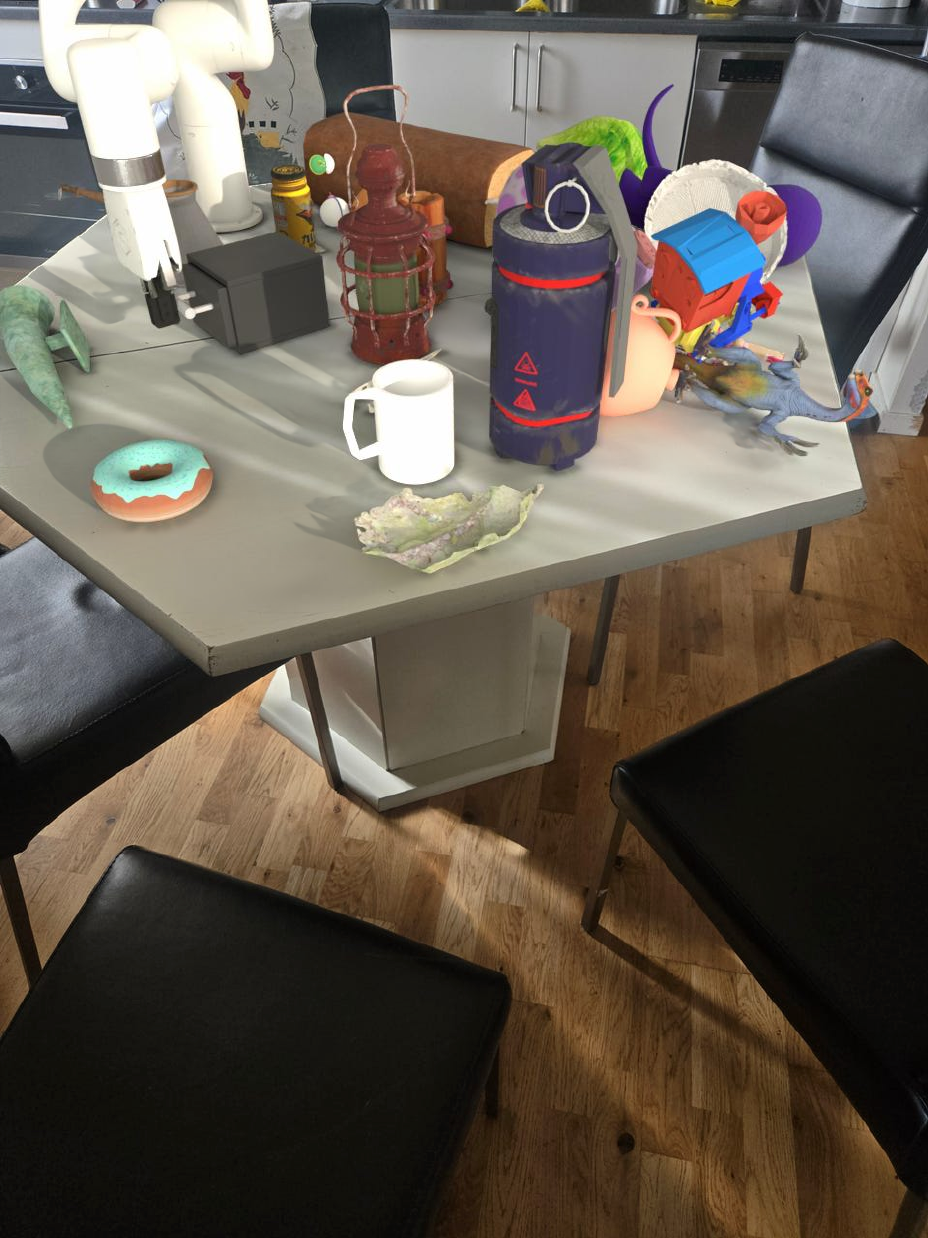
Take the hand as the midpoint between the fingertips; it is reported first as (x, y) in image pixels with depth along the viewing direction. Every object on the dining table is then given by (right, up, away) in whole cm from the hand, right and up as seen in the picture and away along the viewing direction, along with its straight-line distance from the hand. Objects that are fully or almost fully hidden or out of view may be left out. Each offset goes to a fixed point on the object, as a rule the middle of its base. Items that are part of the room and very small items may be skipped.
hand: (166, 323), depth 114 cm
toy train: (+67, -2, -7) cm, 68 cm away
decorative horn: (-11, -18, -14) cm, 25 cm away
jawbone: (+30, -9, -2) cm, 32 cm away
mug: (+29, +8, +15) cm, 34 cm away
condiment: (+10, +21, +29) cm, 38 cm away
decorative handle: (+46, +6, +12) cm, 48 cm away
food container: (+73, +17, +10) cm, 75 cm away
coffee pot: (-8, +13, +20) cm, 25 cm away
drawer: (+8, +2, +7) cm, 10 cm away
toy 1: (+14, +34, +37) cm, 52 cm away
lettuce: (+62, +46, +33) cm, 84 cm away
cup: (+31, -21, -17) cm, 42 cm away
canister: (+47, -19, -15) cm, 53 cm away
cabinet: (+11, +3, +9) cm, 14 cm away
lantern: (+28, -2, +4) cm, 29 cm away
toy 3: (+64, +34, +26) cm, 77 cm away
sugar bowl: (+52, -7, -13) cm, 54 cm away
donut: (+6, -25, -21) cm, 33 cm away
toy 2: (+61, +19, +20) cm, 67 cm away
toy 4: (+77, -7, -4) cm, 77 cm away
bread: (+30, +32, +41) cm, 60 cm away
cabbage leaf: (+42, -30, -33) cm, 61 cm away
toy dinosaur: (+63, -8, -15) cm, 66 cm away
